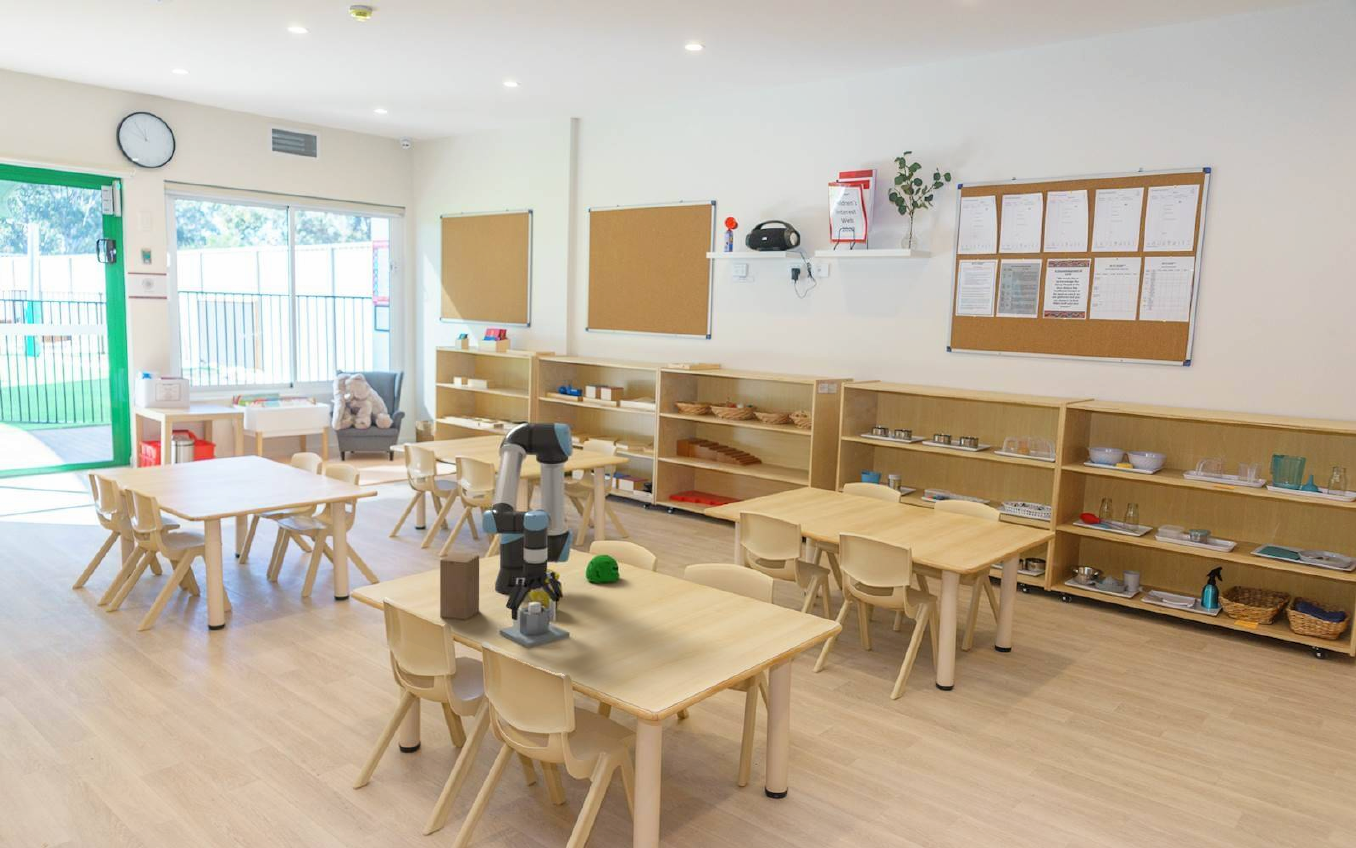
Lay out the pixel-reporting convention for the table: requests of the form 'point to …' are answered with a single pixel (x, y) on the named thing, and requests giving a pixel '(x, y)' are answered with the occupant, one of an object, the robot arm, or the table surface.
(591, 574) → the toy
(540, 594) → the toy
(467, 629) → the table surface
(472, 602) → the wooden block
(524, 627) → the collar ring
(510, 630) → the piston post
